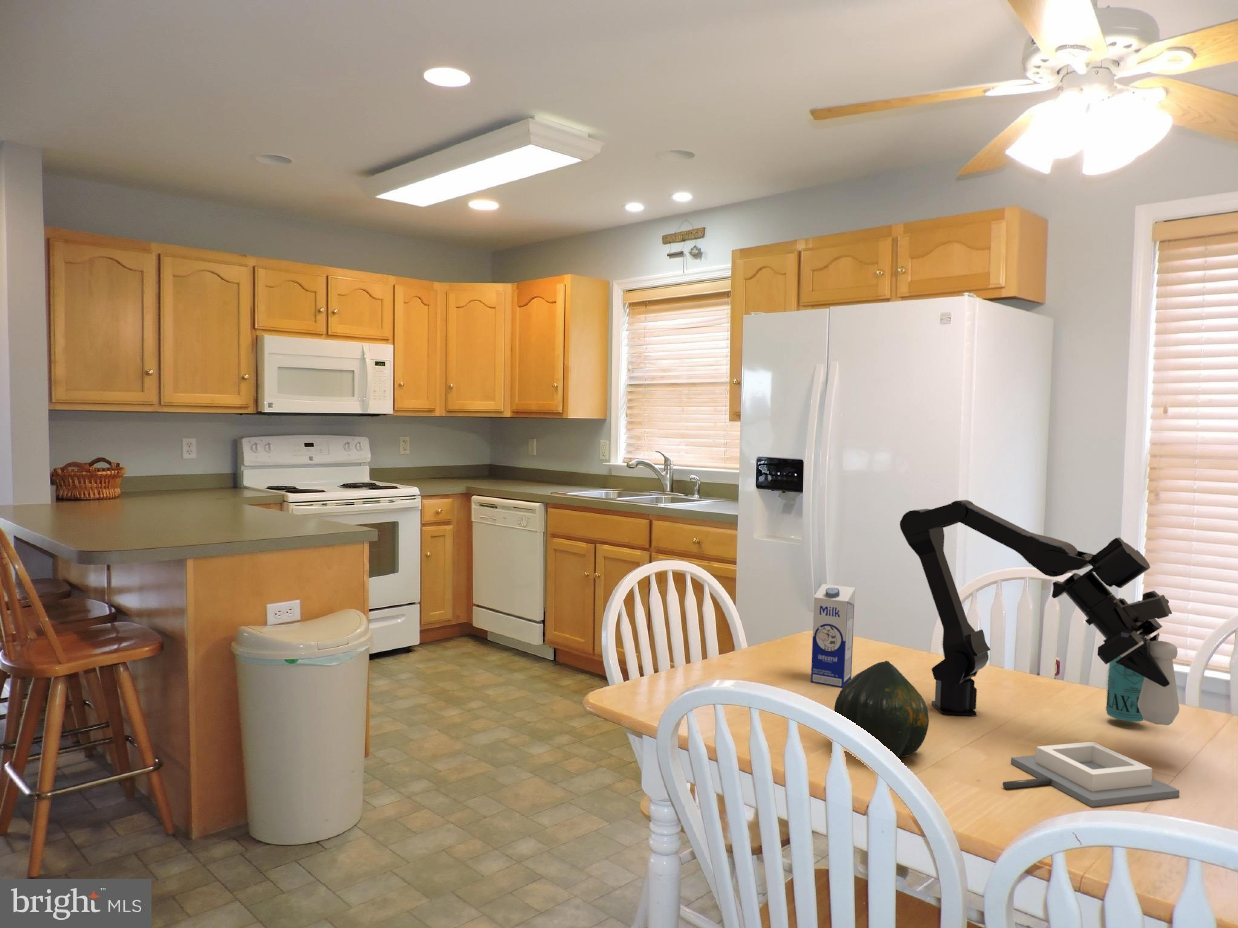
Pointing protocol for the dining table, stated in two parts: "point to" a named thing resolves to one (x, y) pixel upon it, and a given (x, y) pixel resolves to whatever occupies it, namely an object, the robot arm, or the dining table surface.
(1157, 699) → the salt shaker
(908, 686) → the squash
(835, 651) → the milk carton
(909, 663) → the dining table surface
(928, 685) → the dining table surface
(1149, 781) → the dock
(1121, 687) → the beverage bottle
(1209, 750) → the dining table surface
